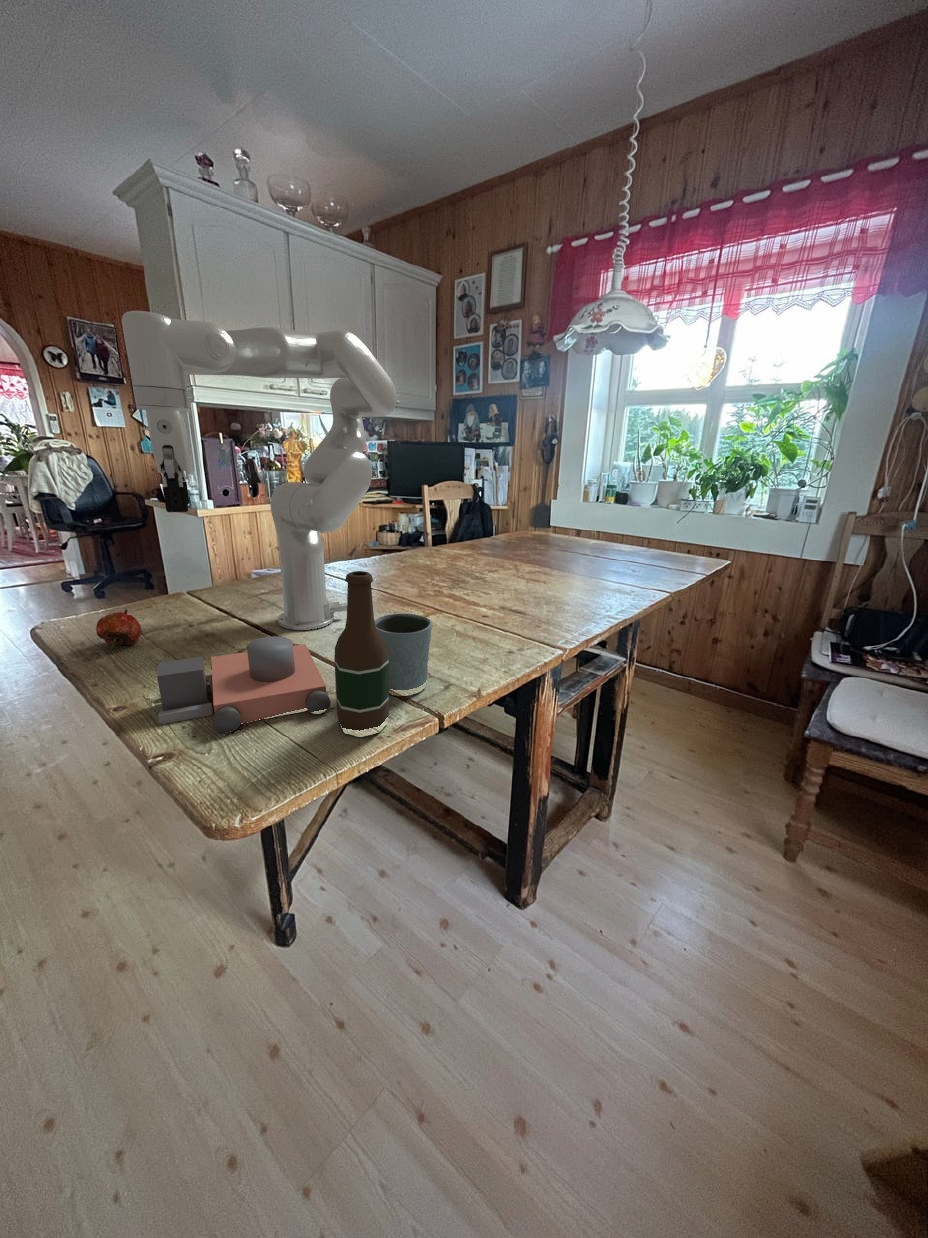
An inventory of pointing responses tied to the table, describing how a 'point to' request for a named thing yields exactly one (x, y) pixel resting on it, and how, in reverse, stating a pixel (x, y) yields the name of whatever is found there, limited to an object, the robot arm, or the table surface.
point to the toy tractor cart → (258, 685)
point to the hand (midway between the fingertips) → (178, 507)
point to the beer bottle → (361, 661)
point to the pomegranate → (119, 629)
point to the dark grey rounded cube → (182, 683)
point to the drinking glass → (406, 648)
